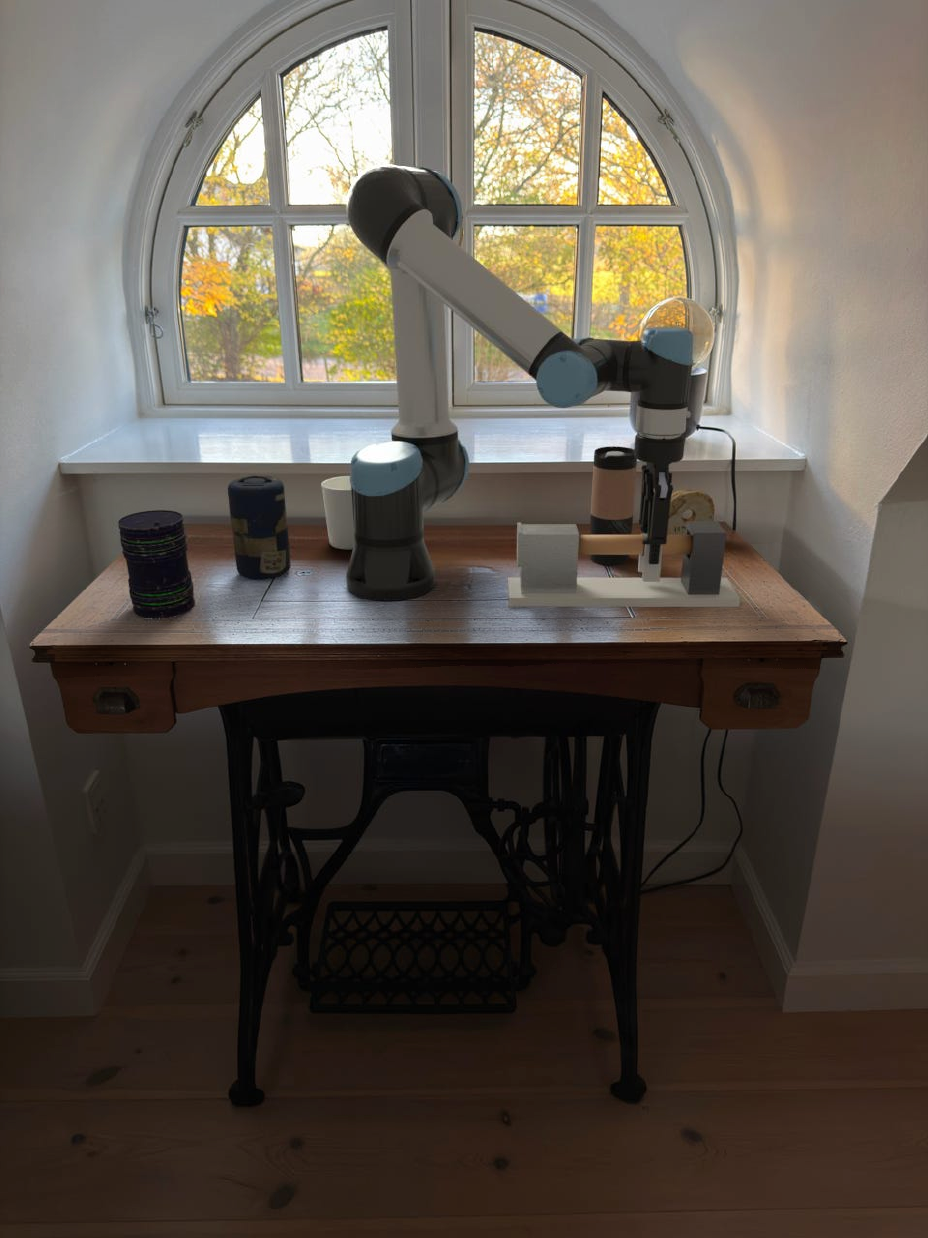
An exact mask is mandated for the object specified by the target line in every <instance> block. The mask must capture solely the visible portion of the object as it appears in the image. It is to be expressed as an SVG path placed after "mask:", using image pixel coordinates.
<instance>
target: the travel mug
mask: <svg viewBox="0 0 928 1238" xmlns="http://www.w3.org/2000/svg"><path fill="white" fill-rule="evenodd" d="M637 463H638V459H636V458H635V456H634V448H630V447H626V446H613V445H612V446H602V447H598V448H595V450H594V453H593V470H592V482H591V483H592V485H591V486H592V487H591V500H590V501H591V502H590V520H589V521H590V527H589V528H590V529H589V535H633V534H632V531H633V522H634V521H633V520H634V515H635V514H634V512H635V511H634V510H635V496H636V495H635V494H636V481H637V480H636V478H637ZM589 559H590V560H591V562H594V563H596V564H599V565H604V566H619V565H623V564H626V563H628V562H629V559H630V555H589Z"/></svg>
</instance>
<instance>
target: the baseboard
mask: <svg viewBox="0 0 928 1238" xmlns="http://www.w3.org/2000/svg"><path fill="white" fill-rule="evenodd" d="M507 595H508V596H507V597H508V600H507V602H508V607H511V608H512V607H513V608H514V607H525V608H526V607H527V608H529V607H531V608H534V607H538V608H539V607H550V608H551V607H554V608H556V607H562V608H563V607H564V608H565V607H569V608H570V607H572V608H573V607H575V608H576V607H577V608H579V607H582V608H583V607H584V608H585V607H589V608H590V607H592V608H599V607H600V608H601V607H602V608H603V607H605V608H607V607H610V608H611V607H612V608H614V607H615V608H619V607H621V608H622V607H623V608H625V607H626V608H627V607H628V608H630V607H631V608H633V607H635V608H638V607H639V608H641V607H644V608H646V607H647V608H649V607H651V608H654V607H655V608H657V607H658V608H659V607H660V608H667V607H668V608H673V607H675V608H676V607H677V608H682V607H683V608H740V604H741V597H740V596H739V594H738V593H737V592H736V589H735V588H734V587H733V585H732V584H731V582H730V580H728V578H727V577H721V584H720V592H719V595H688V594H687V592H686V590H685V588H684V586H683V584H682V582H681V577H660V582H643V581H642V577H577V590H576V594H534V593H521V589H520V577H507Z"/></svg>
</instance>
